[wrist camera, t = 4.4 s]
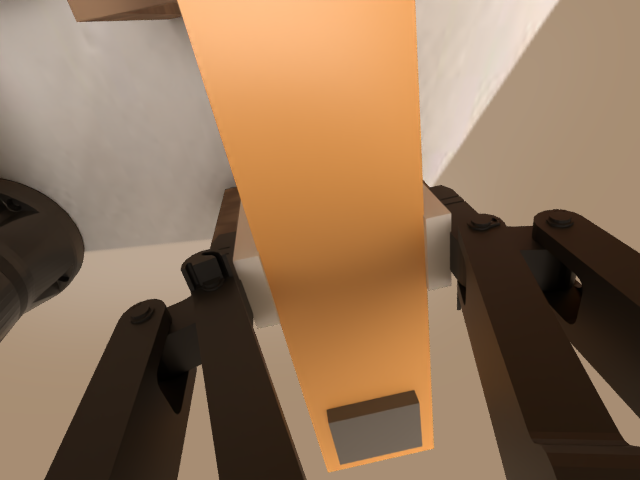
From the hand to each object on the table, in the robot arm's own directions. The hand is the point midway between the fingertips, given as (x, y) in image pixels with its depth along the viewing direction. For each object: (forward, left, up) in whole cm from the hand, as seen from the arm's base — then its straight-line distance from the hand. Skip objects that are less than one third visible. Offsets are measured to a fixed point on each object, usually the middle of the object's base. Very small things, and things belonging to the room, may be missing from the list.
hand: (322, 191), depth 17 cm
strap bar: (0, 0, +3) cm, 3 cm away
